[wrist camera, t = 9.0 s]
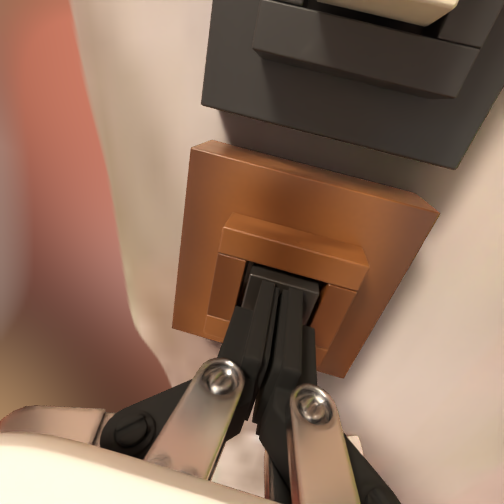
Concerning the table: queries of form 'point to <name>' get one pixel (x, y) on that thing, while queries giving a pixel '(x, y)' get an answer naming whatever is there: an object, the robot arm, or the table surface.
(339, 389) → the table surface
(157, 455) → the robot arm
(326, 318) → the block walnut
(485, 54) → the block black
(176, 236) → the table surface
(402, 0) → the key ivory
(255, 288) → the key ebony
